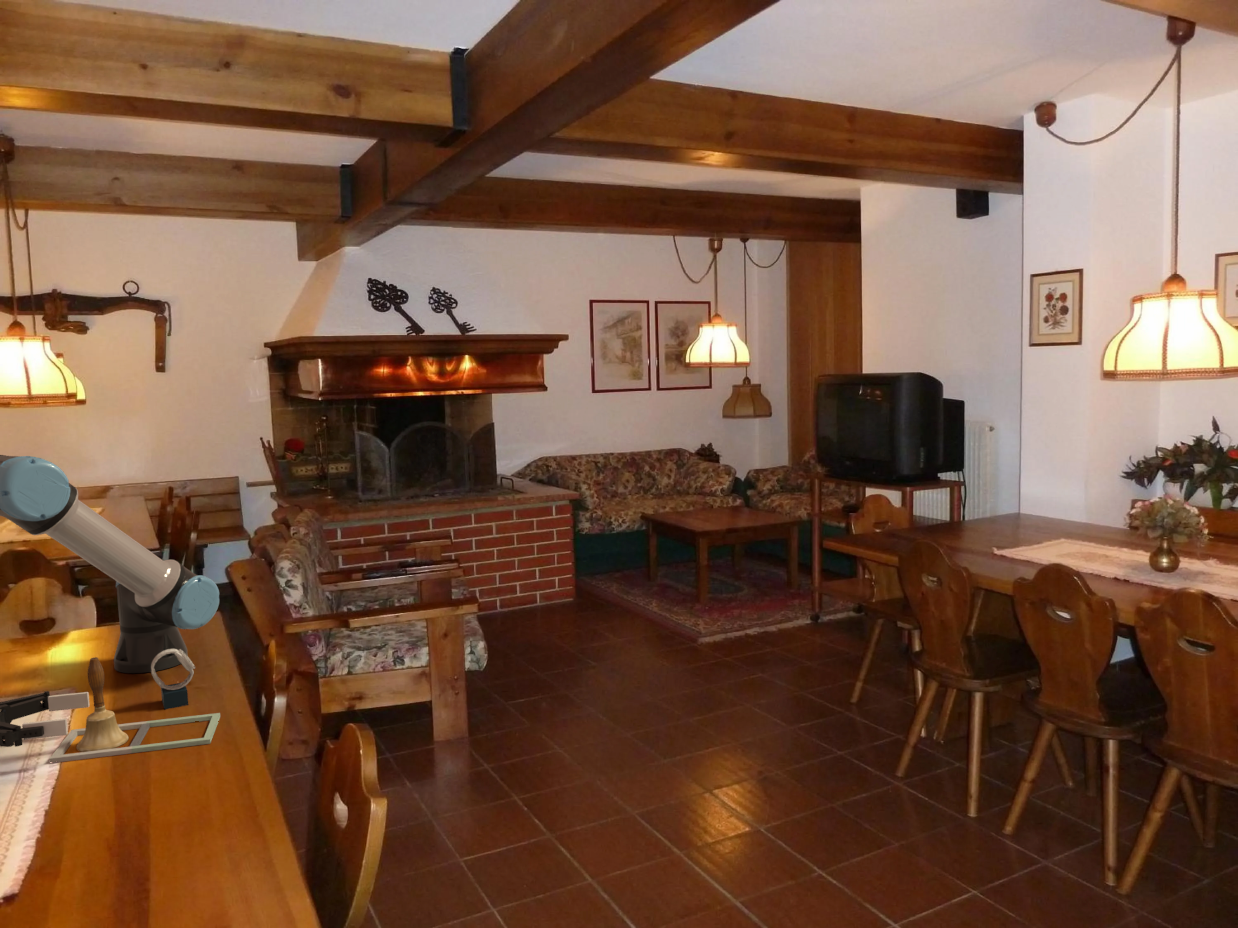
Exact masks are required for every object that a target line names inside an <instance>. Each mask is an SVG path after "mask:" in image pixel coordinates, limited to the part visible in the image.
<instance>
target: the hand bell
mask: <svg viewBox="0 0 1238 928" xmlns="http://www.w3.org/2000/svg"><path fill="white" fill-rule="evenodd" d="M87 681H88V684H89V687H90V690H91V691H92V696H93V698H92V699H93V710H94V711H93V712H92V713H90V714H89V715H87V717H86V721H85V722H86V724H85V725H86V726H85V728H86V730H85V734H84V735H82V738H81V739H80V740H79V741H78V743H77V745H76V746H75V747H76V748H75V749H76V751H78V752H79V753H80V752H89V751H97V750H105V749H114V748H120V747H121V746H122V745H124V744H126V743H127V742H128V740H129V735H128V734H127V733H126V732H124V730H121V729H120V728H119V726H118V724H119V723H117V718H116V714H115V712H114V711H112V710H108V709H106V705H105V704H106V703H105V700H104V699H105V698H104V693H103V692H104V685H105V672H104V668H103V666H102V664H101V662H100V659H99V657H96V656H95V657H91V658H90V659H89V664H88V669H87Z"/></svg>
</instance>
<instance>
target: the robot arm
mask: <svg viewBox="0 0 1238 928" xmlns="http://www.w3.org/2000/svg"><path fill="white" fill-rule="evenodd" d="M0 517H4V518H5V519H7V520H9V521H10V522H12V523H13V524H15V525H16V526H17V527H19V528H20V529H22V530H24V531H26V532H27V533H29V534H30V535H32V536H41V535H45V534H46V535H47V536H48V537H50V538H51V539H52V540H54V541H56V542H58V543H59V544H61V545H62V546H64V547H65V548H67V549H68V550H70V551H71V552H73V554H75V555H77V556H78V557H80V558H82V559H83V560H84V561H86V562H87V563H88V564H90V565H91V566H93V567H95V568H96V569H98V570H100V571H101V572H102V573H104V574H105V575H107V576H108V577H109V578H110V579H113V580H114V581H115V588H116V595H117V596H116V597H117V608H118V609H117V610H118V618H119V629H120V630H119V632H120V634H119V639H118V641H117V646H116V649H115V653H114V658H113V665H114V671H116V672H119V673H123V674H124V673H125V674H143V673H151V664H152V661H153V659H154V658H155V657H156V656H157V655H158V654H159V653H160V652H162V651H164V650H167V649H177V650H180V649H181V650H182V651H183V652H184V653H185V654H186V655H187V656H188V654H189V653H188V647H187V645H186V643H185V641H184V639H183V637H182V634H181V632H180V629H181V630H197V629H200V628H201V627H204V626H206V625H207V624H208V623H209V622H210V621H211V620H212V619H213V617H214V616H215V614H216V613H217V610H218V608H219V605H220V590H219V587H218V586H217V584H216V582H215V581H214V580H213V579H211V578H209V577H208V576H205V575H198V574H197V573H194V572H192V571H191V570H190V569H188V568H187V567H185V566H184V565H182V563H180V562H179V561H178V560H175V559H166V560H163V559H161V558H160V557H159V556H157V555H156V554H155V553H154V552H152V551H151V550H149V549H148V548H146V547H145V546H144V545H142V544H141V543H140V542H138V541H136V540H135V539H134V538H133V537H131V536H130V535H129V534H127V533H125V532H124V531H123V530H121V529H120V528H119V527H118V526H116V525H114V524H113V523H112V522H110V521H109V520H108V519H106V518H105V517H103V516H102V515H100V514H99V513H98V512H96V511H95V510H94V509H93V508H91V507H90V506H88V504H85V503H84V502H82V501H81V500H80V499H79V490H78V488H77V487H76V486H74V485H73V484H72V483H70V481H69V478H68V476H67V475H66V474H65V472H64V471H63V470H62V469H61V468H60V467H59V466H58V465H57V464H55V463H53V462H51V461H49V460H47V459H45V458H42V457H36V456H30V455H22V456H17V455H4V454H0ZM188 657H189V656H188ZM178 665H182V664H181V663H180V661H179V660H178V659H177V657H176V655H175V654H174V653H170V654H166V655H164V656H162V657H161V658H160V659H158V661H157V662H156V663H155V665H154V669H155V672H157V671H162V670H167V669H170V668H173V667H177V666H178ZM50 694H51V693H50V691H49V690H46V691H44V692H41V693H36V694H31V695H27V696H23V697H19V698H14V699H10V700H5V701H0V747H3V748H6V747H7V748H10V747H12V746H14V747H21V746H23V741H26V740H28V741H29V740H34V739H36V740H37V739H45V738H52V737H54V738H55V737H62V736H67V735H68V734H69V732H68V731H69V730H68V721H67V720H68V719H67V718H66V717H65V718H57V719H49V720H48V719H47V720H40V721H30V722H29V721H28V722H23V723H22V725H18V724H14V723H12V721H15V720H17V719H21V718H24V717H27V716H31V715H34V714H37V713H41V712H44V711H48V712H58V711H66V710H76V709H84V708H85V709H86V708H89V707H90V706H91V705H90V695H89V692H88V691H84V692H73V693H63V694H55V695H50Z"/></svg>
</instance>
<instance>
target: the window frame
mask: <svg viewBox="0 0 1238 928" xmlns="http://www.w3.org/2000/svg"><path fill="white" fill-rule="evenodd" d="M220 719H221V712H216V713H215V712H214V713H208V714H207V713H206V714H199V715H198V714H197V715H189V716H188V715H187V716H182V717H181V716H179V717H172V718H164V719H163V718H162V719H156V720H147V721H138V722H127V723H121V724H120V723H117V724H118V726H119V728H120V729H121V730H122V731H128V730H135V729H136V730H138V731H137V733H136V735H135V736H134V737H133V739H132V741H131V743H130V744H129V746H125V747H124V746H123V747H116V748H113V749H105V750H97V751H89V752H80V751H79V752H74V753H66V752H67V750H68V749H69V748H70V746H71V745H72V744H73V742H74V741H75V739H76V738H77V737H78V736H84V734H85V730H86V727H84V728H83V727H82V728H75V729H71V730H70V731H69V732H68V734H67V735H66V736H65V737H64V739H63V740H62V742H61V743H60V744H59V746H58V747H57V748H56V750H55V751H54V752H53V753H52V755H51V756H50V757H49V763H50V762H56V761H57V762H56V763H63V762H71V761H79V760H87V759H94V758H97V759H98V758H104V757H112V756H119V755H127V754H135V753H136V754H137V753H143V752H144V753H145V752H152V751H160V750H162V751H163V750H169V749H176V748H184V747H194V746H202V745H203V746H204V745H211V743H212V739H213V737H214V734H215V733H216V730H217V726H218V724H219V722H220ZM195 721H199V722H207V721H209V723H208V726H207V729H206V731H205V734H204V736H203V737H198V738H191V739H189V738H188V739H183V740H182V739H181V740H174V741H167V742H166V741H165V742H159V743H158V742H157V743H150V744H149V743H148V744H142V741H143V740H144V738H145V737H146V735H147V733H148V732H149V729H150V728H153V727H163V726H171V725H178V724H180V725H181V724H188V723H196V722H195ZM218 721H219V722H218Z"/></svg>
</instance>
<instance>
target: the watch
mask: <svg viewBox="0 0 1238 928" xmlns="http://www.w3.org/2000/svg"><path fill="white" fill-rule="evenodd" d="M170 653H174V654H175V655H176V657H177V659H178V660H179V661H180V663H181V664H180V665H181V666H182V667H183V668H184V669H185V670H186V671H187V672H189V674H188V675H187V677H186V678H185V679H184V680H183V681H181V682H177V683H172V684H165V682H164V681H163V680H162V679H161V678H160V677H159V676H158V673H157V671H155V669H154V665H155V663H156V662H157V661H158V659H160V658H161V657H162V656H164V655H166V654H170ZM194 669H196V666H195V664H194V663H193V661H192V659H191V658H190V657H189V656H187V655H186V654H185V653H184V652H183V651H182V650H181V649H180V650H177V649H167V650H164V651H162V652H160V653H159V654H158V655H157V656H156V657H155V658H154V659H153V661H152V664H151V672H150V673H151V676H152V679H153V680H154V682H155V683H156V684H157V685H158V686H159V688H160V691H161V693H160V694H161V703H162V706H163V709H164V710H169V709H174V708H175V709H176V708H180V707H185V706H189V697H188V696H189V695H188V688H187V685H188V684H189V683H190V682H191V681H192V679H193V676H194V674H195V673H194Z"/></svg>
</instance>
